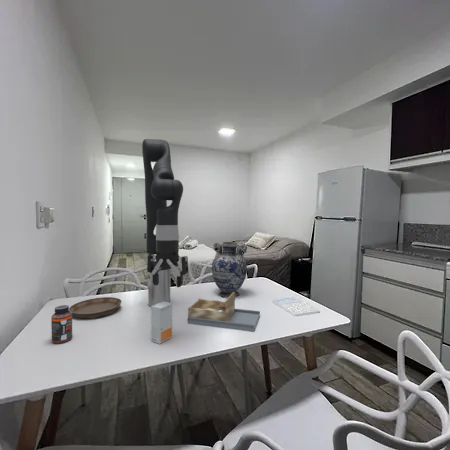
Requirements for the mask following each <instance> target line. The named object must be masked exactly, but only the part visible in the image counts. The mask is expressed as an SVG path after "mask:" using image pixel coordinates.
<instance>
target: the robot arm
mask: <svg viewBox="0 0 450 450" xmlns="http://www.w3.org/2000/svg"><path fill="white" fill-rule="evenodd" d="M141 145H142V146H141V147H142V149H141V150H142V151H141V152H142V161H143V172H144V200H145V201H144V203H145V216H146V251H147V253H148V255H147V264H146V265H147V266H146V271H147V273H149V281H150V282H149V284H148V286H147V289H148V290H147V291H148V292H147V293H148V298H147V299H148V307H151V306H153V305H156V304H158V303H161V302H164V301H165V302H168V303H171V301H172V300H171V269H172V271H173V272H175V275H177V276H176V288H180V287H182V285H183V283H184V276H185V275H187V274H189V260H188V259H189V258H188V256H187V255H184V256H180V255H179V252H180V251H179V250H180V246H179V245H180V243H179V242H180V241H179V240H180V235H179V234H180V233H179V208H180V205H181V204H180V203H181V201H182V197H183V192H184V185H183V184H182V182H181V181H180V180H179V179H175V175H174V172H173V168H172V159H171V157H172V156H171V150H170V149H171V148H170V144H169V142H168V140H164V139H154V138H153V139H152V138H145V139H143V140H142V144H141ZM152 163H154V165H153V167H152ZM168 201H171V203H170V204H169V205H167V204H168ZM154 232H155V233H154ZM179 262H180V263H181V266H180V264H179Z"/></svg>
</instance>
